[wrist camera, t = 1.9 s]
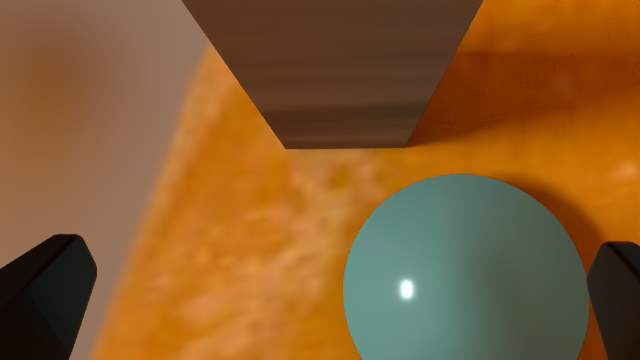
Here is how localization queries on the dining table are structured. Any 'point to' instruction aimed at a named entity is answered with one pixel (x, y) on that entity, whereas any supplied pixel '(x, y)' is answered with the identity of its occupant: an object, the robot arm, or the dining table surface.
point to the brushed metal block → (337, 63)
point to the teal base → (465, 276)
